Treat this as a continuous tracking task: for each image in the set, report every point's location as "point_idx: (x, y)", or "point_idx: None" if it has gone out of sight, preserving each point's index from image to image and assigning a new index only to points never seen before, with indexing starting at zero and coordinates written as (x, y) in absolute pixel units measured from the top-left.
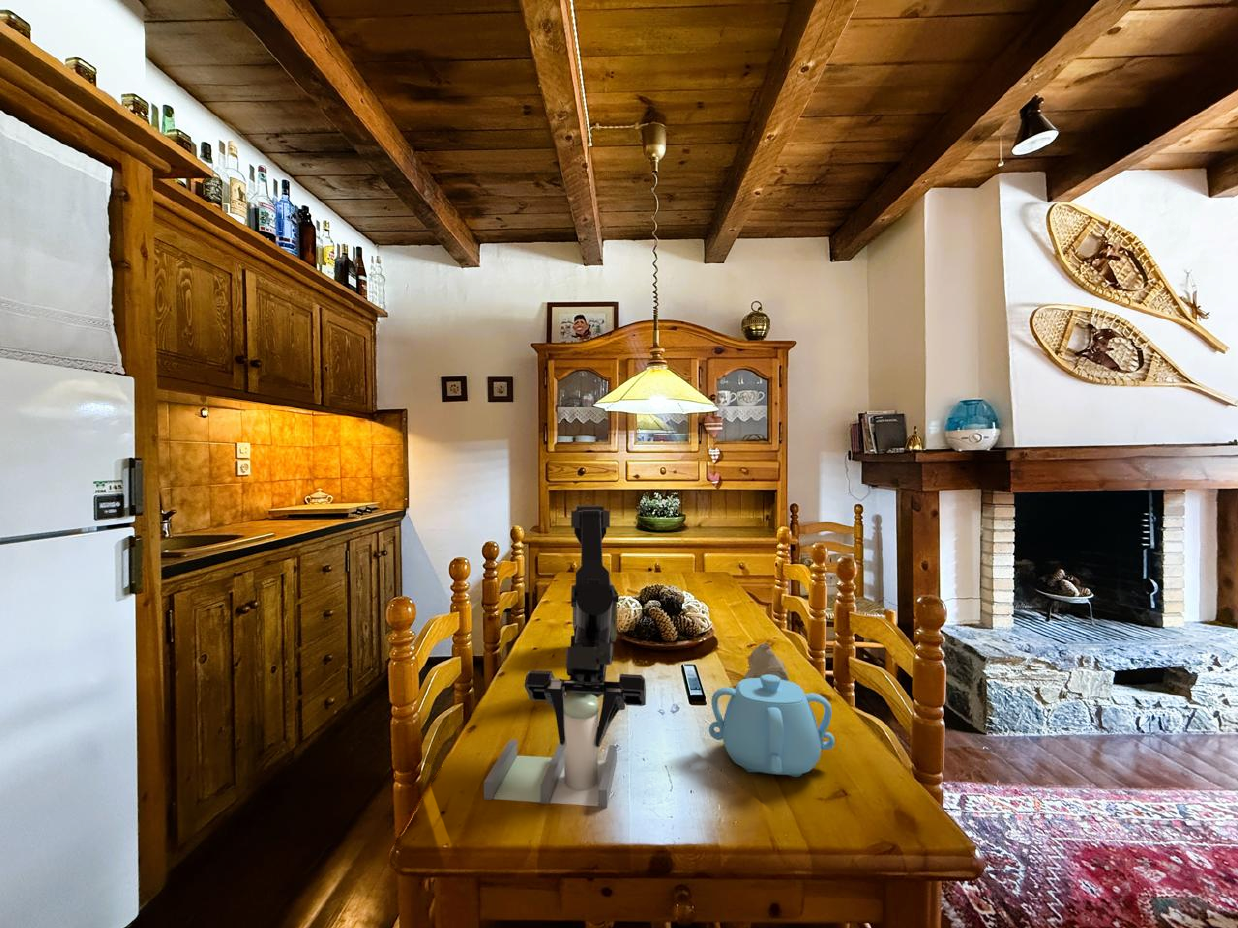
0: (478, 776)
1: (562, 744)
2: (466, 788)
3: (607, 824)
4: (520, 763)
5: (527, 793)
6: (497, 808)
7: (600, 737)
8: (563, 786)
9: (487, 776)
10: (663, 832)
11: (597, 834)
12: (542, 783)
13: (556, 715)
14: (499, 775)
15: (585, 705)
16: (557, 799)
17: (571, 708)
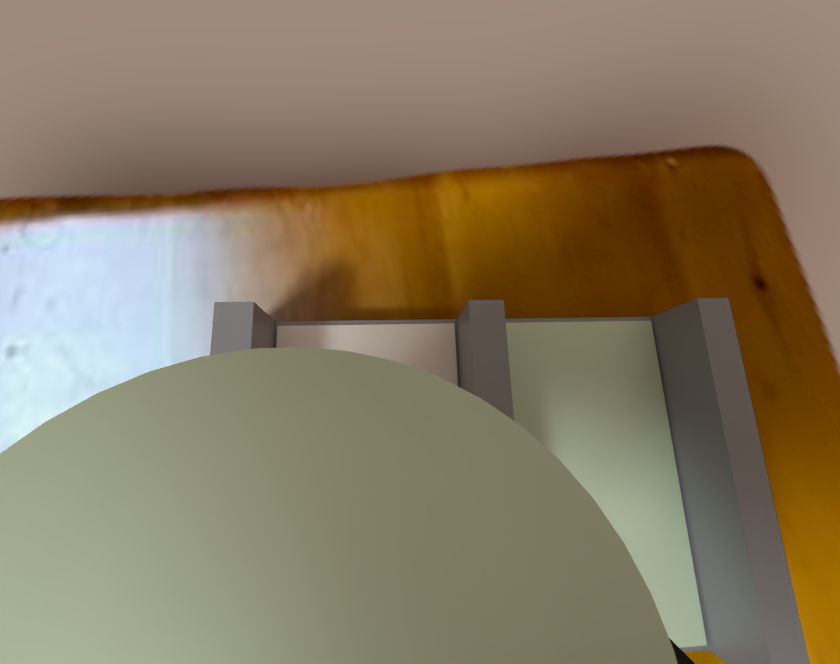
0: (771, 491)
1: None
2: (767, 410)
3: (247, 285)
4: (661, 574)
5: (549, 365)
6: None
7: None
8: None
9: (735, 336)
10: (55, 268)
11: (275, 238)
12: (500, 314)
13: None
14: (696, 392)
15: (125, 507)
16: (432, 345)
17: (422, 373)
